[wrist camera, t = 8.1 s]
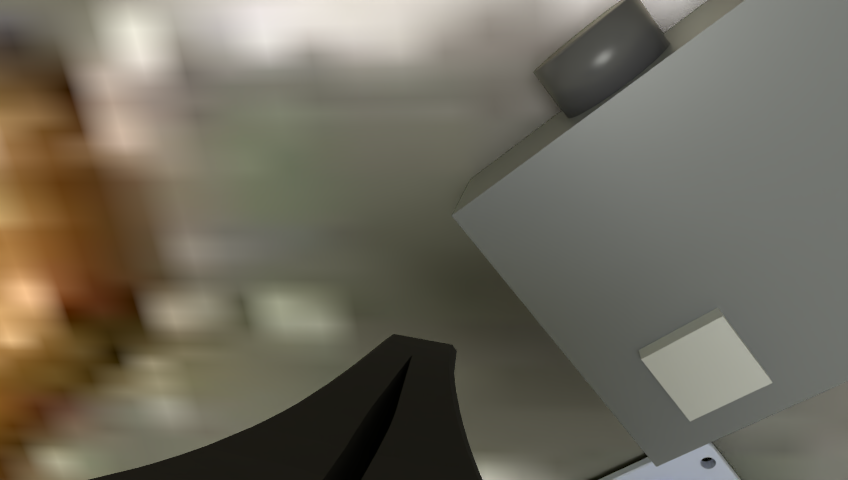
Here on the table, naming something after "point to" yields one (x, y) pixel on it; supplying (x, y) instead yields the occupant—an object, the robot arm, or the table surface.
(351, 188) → the table surface
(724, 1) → the box
